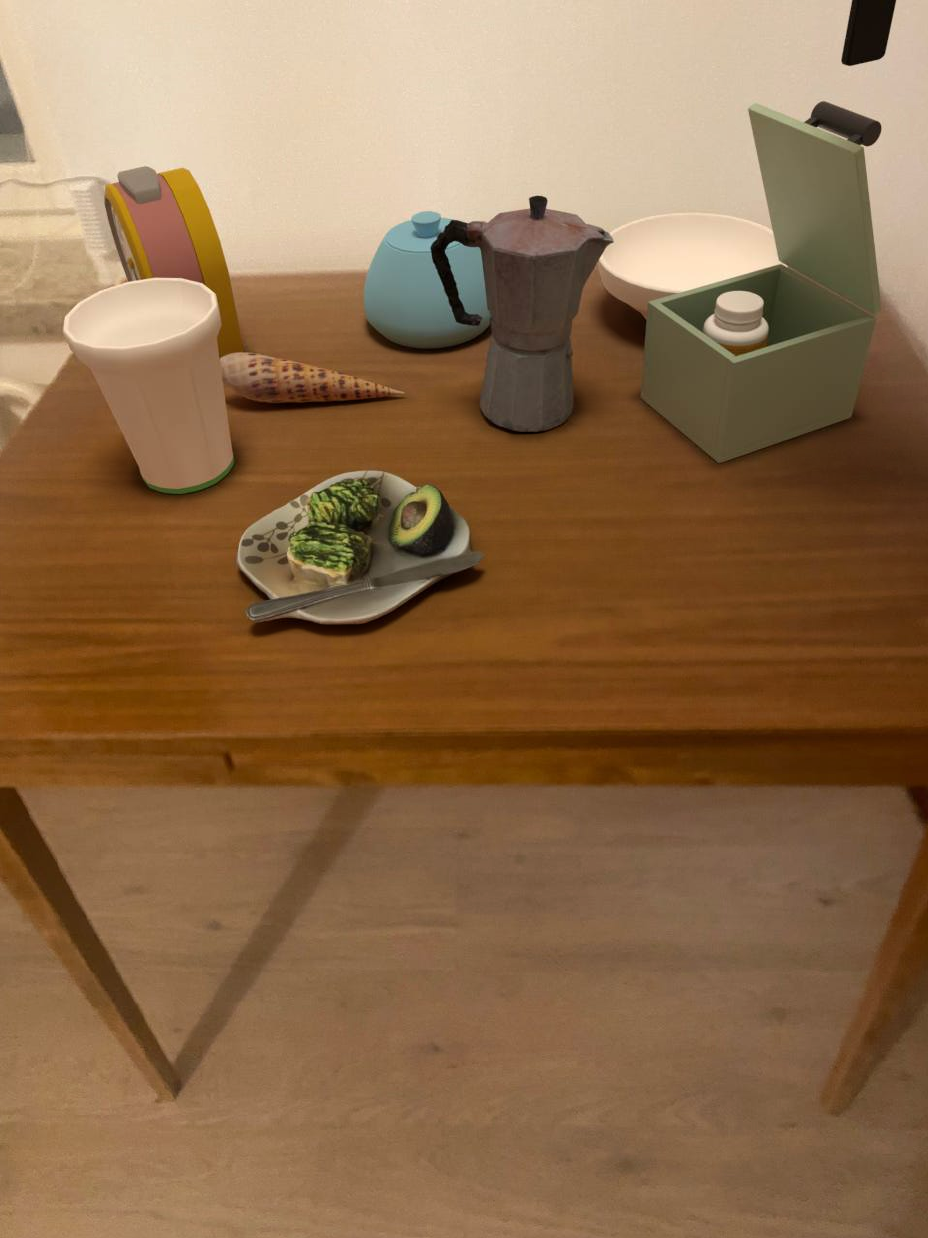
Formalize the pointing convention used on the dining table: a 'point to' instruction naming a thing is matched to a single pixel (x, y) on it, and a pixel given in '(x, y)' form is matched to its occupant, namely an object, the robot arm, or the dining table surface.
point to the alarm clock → (171, 238)
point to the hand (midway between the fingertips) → (916, 77)
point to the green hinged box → (755, 364)
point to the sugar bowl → (423, 287)
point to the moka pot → (526, 307)
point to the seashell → (293, 381)
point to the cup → (159, 376)
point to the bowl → (682, 255)
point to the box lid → (821, 196)
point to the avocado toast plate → (353, 549)
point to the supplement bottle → (738, 323)
